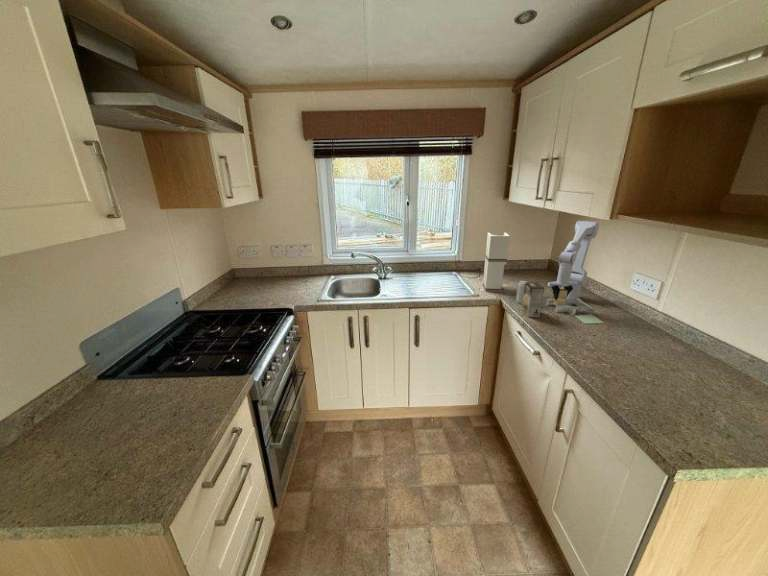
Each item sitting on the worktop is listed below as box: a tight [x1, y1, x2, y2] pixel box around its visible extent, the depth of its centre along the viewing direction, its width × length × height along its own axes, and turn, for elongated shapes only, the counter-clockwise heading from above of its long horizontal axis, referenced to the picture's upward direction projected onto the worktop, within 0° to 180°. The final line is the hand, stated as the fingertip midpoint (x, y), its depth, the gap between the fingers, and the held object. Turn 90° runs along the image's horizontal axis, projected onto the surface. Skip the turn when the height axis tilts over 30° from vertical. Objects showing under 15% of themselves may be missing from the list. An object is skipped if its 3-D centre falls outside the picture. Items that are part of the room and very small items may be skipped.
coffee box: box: [521, 281, 545, 318], centre depth 156 cm, size 9×6×16 cm
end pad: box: [573, 314, 605, 325], centre depth 150 cm, size 9×9×1 cm
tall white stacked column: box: [482, 232, 511, 293], centre depth 188 cm, size 11×11×35 cm
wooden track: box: [546, 298, 595, 316], centre depth 161 cm, size 15×16×4 cm
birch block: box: [553, 287, 568, 306], centre depth 162 cm, size 4×4×9 cm
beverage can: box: [515, 280, 528, 304], centre depth 171 cm, size 6×6×12 cm
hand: (559, 298), depth 162 cm, fingers closed on birch block, 4 cm apart
